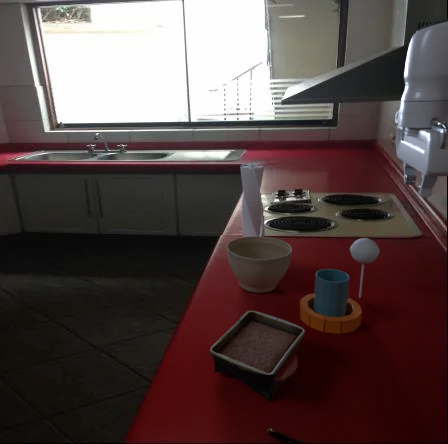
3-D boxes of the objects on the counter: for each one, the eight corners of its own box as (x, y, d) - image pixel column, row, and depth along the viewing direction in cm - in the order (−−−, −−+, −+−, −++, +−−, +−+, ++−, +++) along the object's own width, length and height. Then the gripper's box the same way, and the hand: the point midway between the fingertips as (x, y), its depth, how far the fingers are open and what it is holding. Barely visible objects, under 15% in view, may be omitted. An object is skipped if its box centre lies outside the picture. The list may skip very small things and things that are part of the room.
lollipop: (375, 294, 101) (382, 236, 97) (373, 305, 96) (379, 245, 92) (347, 289, 104) (352, 233, 100) (344, 300, 100) (349, 241, 95)
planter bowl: (284, 304, 99) (286, 262, 96) (219, 294, 106) (218, 254, 103) (294, 276, 113) (296, 239, 110) (236, 269, 120) (236, 233, 116)
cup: (343, 309, 96) (346, 269, 92) (348, 325, 89) (351, 283, 86) (311, 307, 97) (314, 268, 94) (314, 322, 91) (317, 281, 88)
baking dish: (312, 374, 78) (315, 323, 77) (266, 417, 65) (268, 357, 64) (245, 351, 88) (246, 306, 86) (193, 385, 75) (193, 332, 73)
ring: (354, 306, 97) (356, 294, 96) (365, 336, 85) (366, 323, 84) (298, 302, 100) (299, 290, 99) (301, 330, 89) (302, 318, 88)
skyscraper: (266, 247, 134) (268, 160, 125) (240, 247, 135) (240, 161, 127) (264, 238, 142) (265, 156, 133) (240, 238, 143) (240, 157, 135)
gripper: (470, 121, 66) (456, 204, 70) (427, 112, 85) (418, 178, 89) (425, 122, 68) (414, 204, 72) (393, 113, 87) (385, 178, 91)
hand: (416, 189), depth 81 cm, fingers open, 8 cm apart
